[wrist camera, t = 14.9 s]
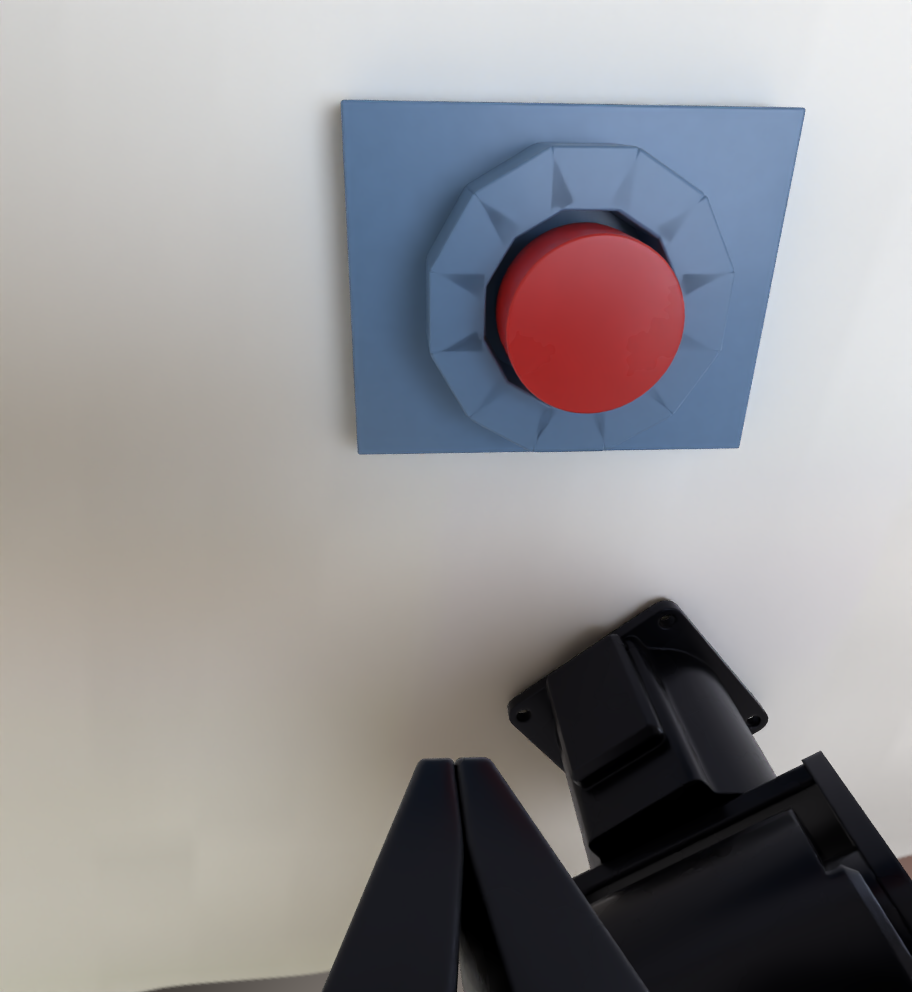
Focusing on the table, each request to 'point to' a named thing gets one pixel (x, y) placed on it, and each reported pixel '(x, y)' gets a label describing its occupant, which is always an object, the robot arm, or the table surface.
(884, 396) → the table surface
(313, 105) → the table surface
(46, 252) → the table surface
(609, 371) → the red button
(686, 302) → the button box
